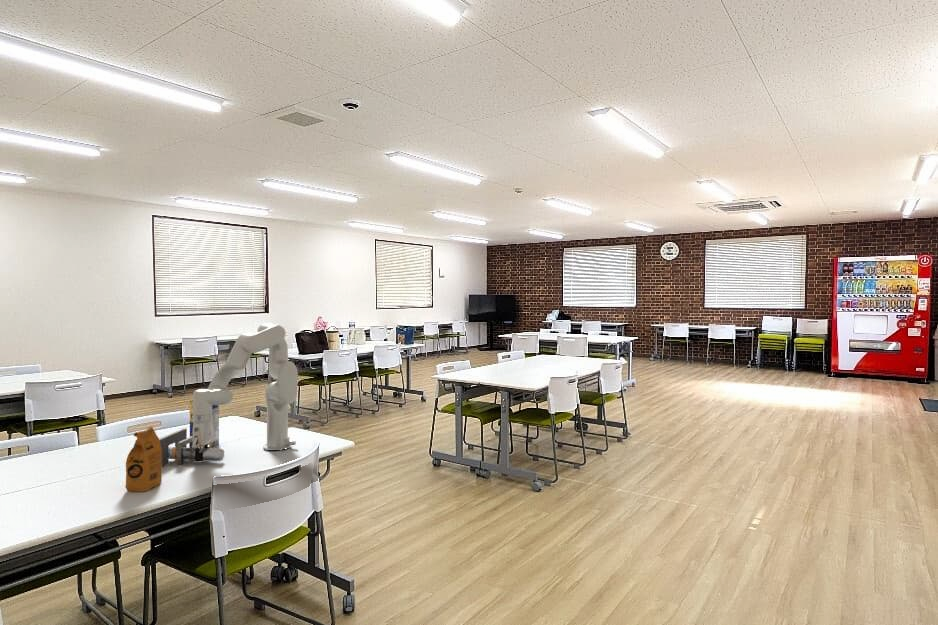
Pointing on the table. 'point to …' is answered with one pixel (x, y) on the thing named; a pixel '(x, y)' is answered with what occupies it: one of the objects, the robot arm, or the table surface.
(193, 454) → the steel tube
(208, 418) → the robot arm
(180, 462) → the collar
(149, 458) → the coffee package
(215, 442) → the blue food box
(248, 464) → the table surface
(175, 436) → the plate
